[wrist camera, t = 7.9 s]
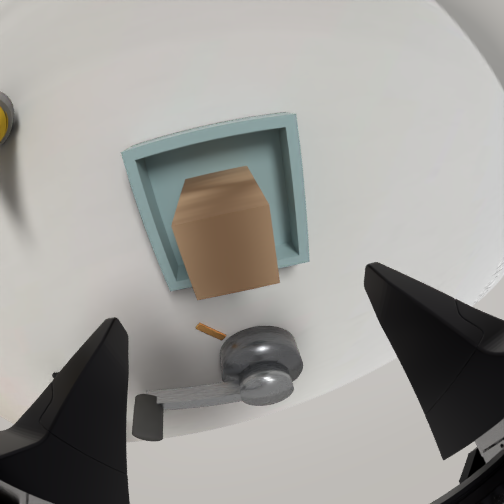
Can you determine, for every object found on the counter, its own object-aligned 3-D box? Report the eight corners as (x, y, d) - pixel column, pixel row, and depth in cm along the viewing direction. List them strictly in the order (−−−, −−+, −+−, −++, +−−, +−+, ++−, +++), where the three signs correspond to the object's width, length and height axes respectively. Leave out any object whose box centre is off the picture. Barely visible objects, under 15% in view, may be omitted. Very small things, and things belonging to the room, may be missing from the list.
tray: (173, 271, 21) (170, 291, 18) (132, 145, 15) (120, 152, 13) (299, 244, 21) (309, 261, 19) (284, 112, 16) (296, 113, 13)
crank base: (220, 379, 29) (222, 400, 26) (194, 323, 24) (194, 349, 21) (296, 363, 29) (303, 383, 27) (292, 303, 24) (301, 326, 22)
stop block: (199, 233, 19) (197, 300, 13) (185, 179, 16) (171, 226, 11) (256, 221, 19) (279, 282, 13) (246, 165, 17) (269, 204, 11)
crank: (287, 357, 23) (301, 405, 19) (290, 383, 26) (302, 425, 21) (126, 381, 22) (120, 426, 18) (148, 404, 25) (145, 444, 21)
